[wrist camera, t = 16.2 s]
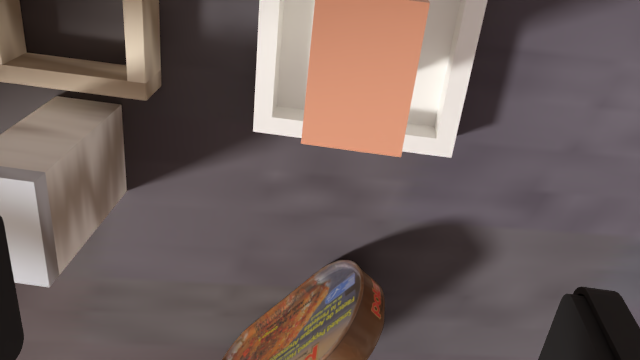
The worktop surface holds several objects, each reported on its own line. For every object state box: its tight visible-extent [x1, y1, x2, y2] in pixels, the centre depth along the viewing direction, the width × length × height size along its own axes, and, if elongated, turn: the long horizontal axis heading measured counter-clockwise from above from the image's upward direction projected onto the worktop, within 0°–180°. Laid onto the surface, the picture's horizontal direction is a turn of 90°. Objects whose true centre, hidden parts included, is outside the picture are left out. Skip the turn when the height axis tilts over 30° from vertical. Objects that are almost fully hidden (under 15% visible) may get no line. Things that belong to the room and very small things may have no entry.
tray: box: [253, 0, 487, 158], centre depth 30 cm, size 13×11×2 cm
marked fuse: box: [301, 0, 430, 157], centre depth 26 cm, size 6×4×10 cm, turn 174°
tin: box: [222, 260, 385, 360], centre depth 38 cm, size 15×3×8 cm, turn 136°
